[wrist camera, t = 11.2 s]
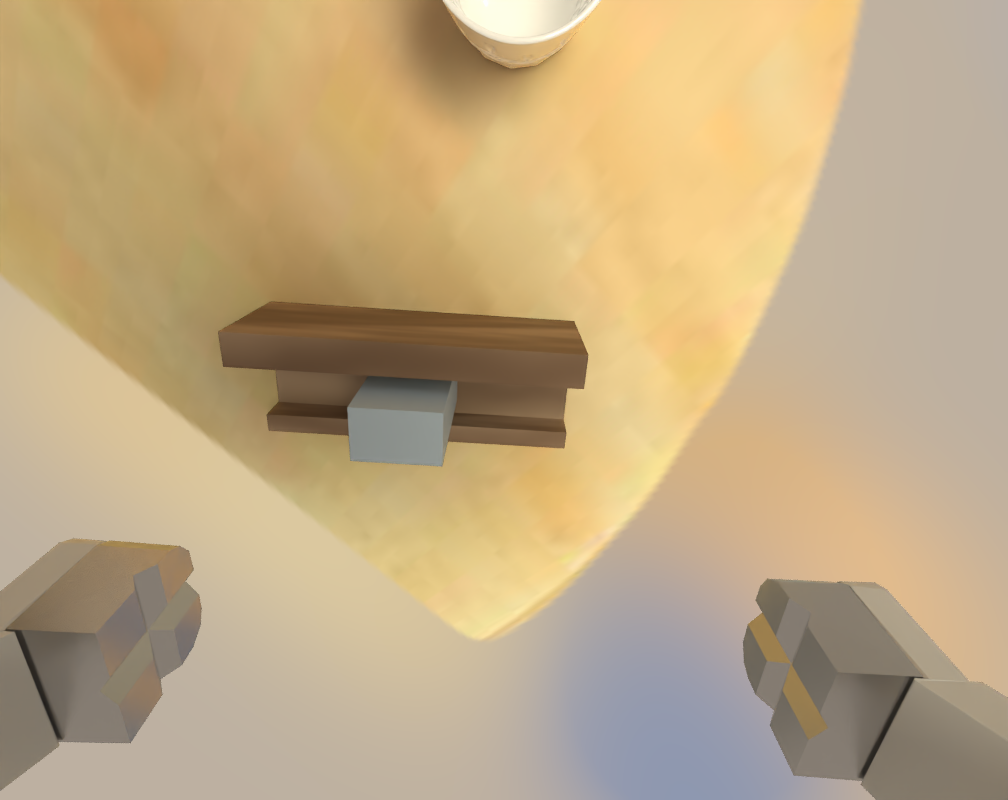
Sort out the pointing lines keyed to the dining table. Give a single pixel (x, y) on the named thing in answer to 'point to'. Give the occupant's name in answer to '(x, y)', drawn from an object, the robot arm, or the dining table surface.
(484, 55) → the white cup
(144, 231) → the dining table surface
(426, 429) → the cabinet block
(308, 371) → the cleat board
